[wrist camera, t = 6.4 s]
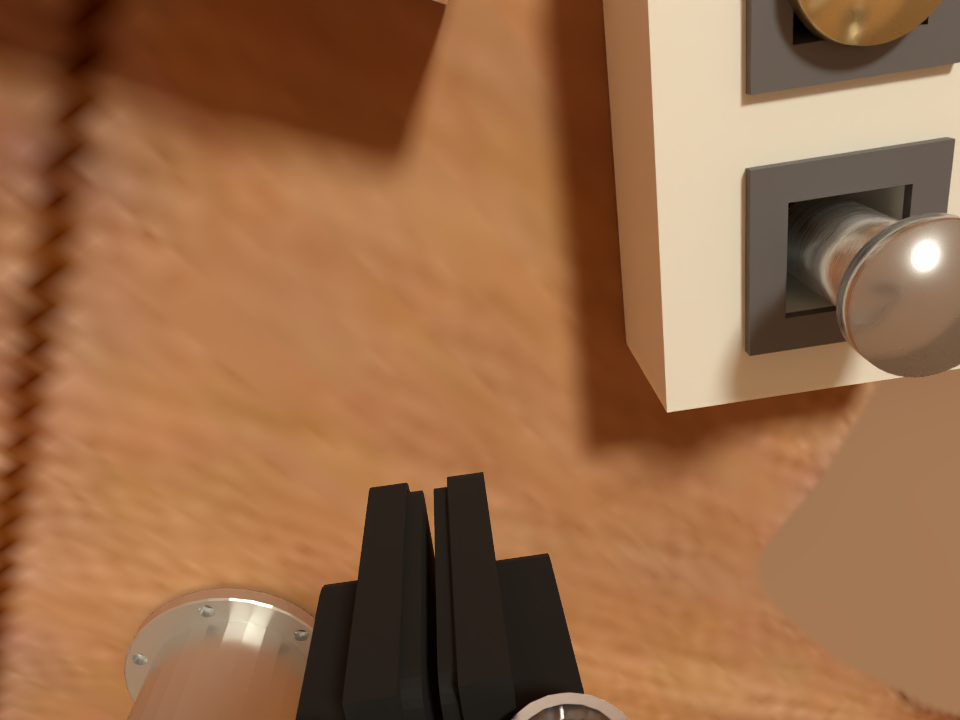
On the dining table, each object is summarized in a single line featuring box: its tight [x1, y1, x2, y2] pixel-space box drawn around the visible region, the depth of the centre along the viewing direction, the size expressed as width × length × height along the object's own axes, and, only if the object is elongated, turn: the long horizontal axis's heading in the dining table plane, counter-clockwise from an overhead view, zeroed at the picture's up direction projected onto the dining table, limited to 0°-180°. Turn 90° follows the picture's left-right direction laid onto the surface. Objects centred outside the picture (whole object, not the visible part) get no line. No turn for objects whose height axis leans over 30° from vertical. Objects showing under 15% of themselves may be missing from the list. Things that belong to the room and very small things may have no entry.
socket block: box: [603, 0, 960, 413], centre depth 30 cm, size 22×14×8 cm, turn 8°
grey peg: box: [787, 195, 960, 377], centre depth 27 cm, size 5×5×8 cm
